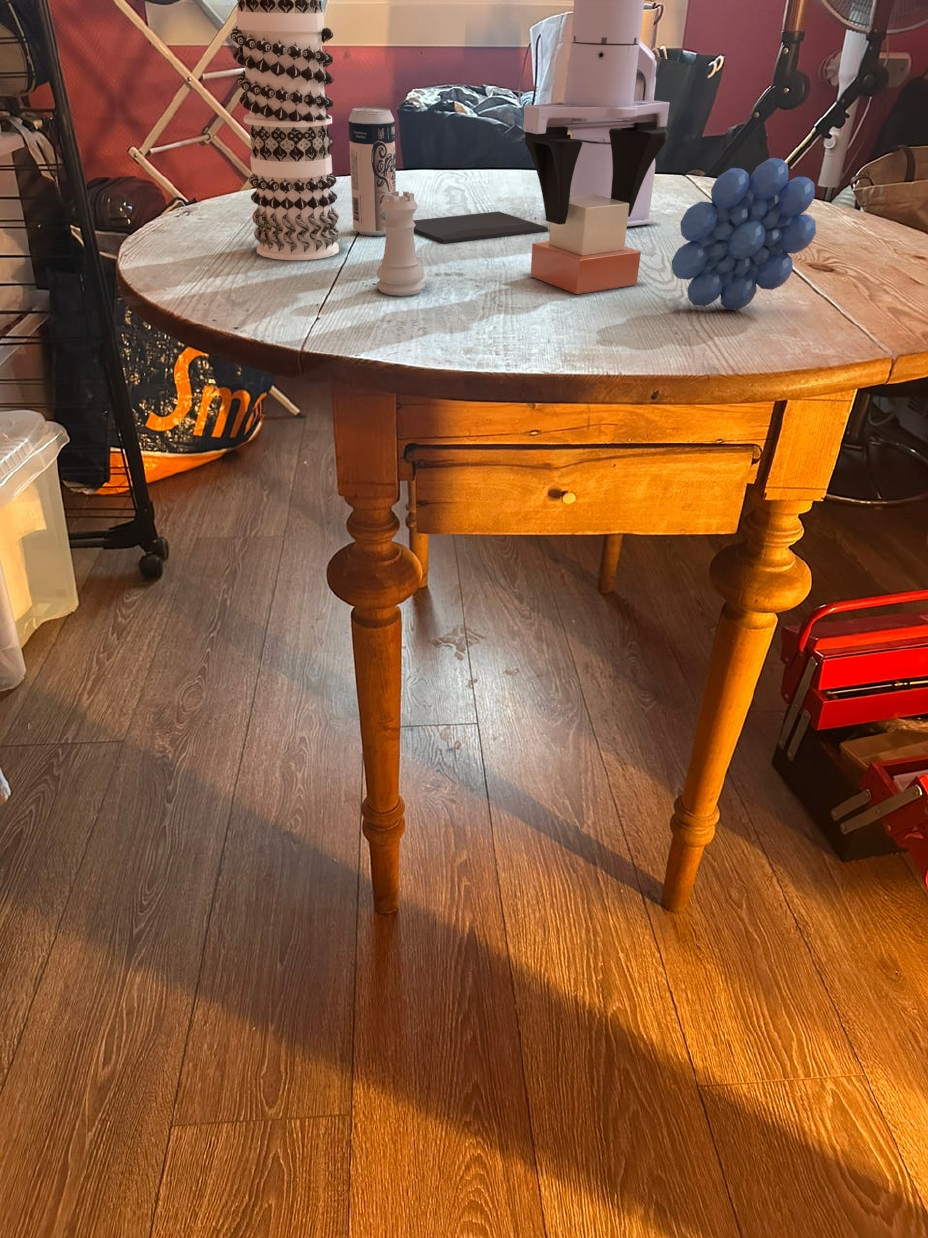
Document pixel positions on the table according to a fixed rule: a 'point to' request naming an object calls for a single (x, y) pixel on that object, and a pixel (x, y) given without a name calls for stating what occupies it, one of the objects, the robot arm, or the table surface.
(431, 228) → the rubber mat
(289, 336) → the table surface
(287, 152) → the decorative candle
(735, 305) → the blue beaded flower
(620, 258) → the glossy orange square block
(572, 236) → the beige cube
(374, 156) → the beer can
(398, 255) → the rook chess piece
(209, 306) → the table surface
